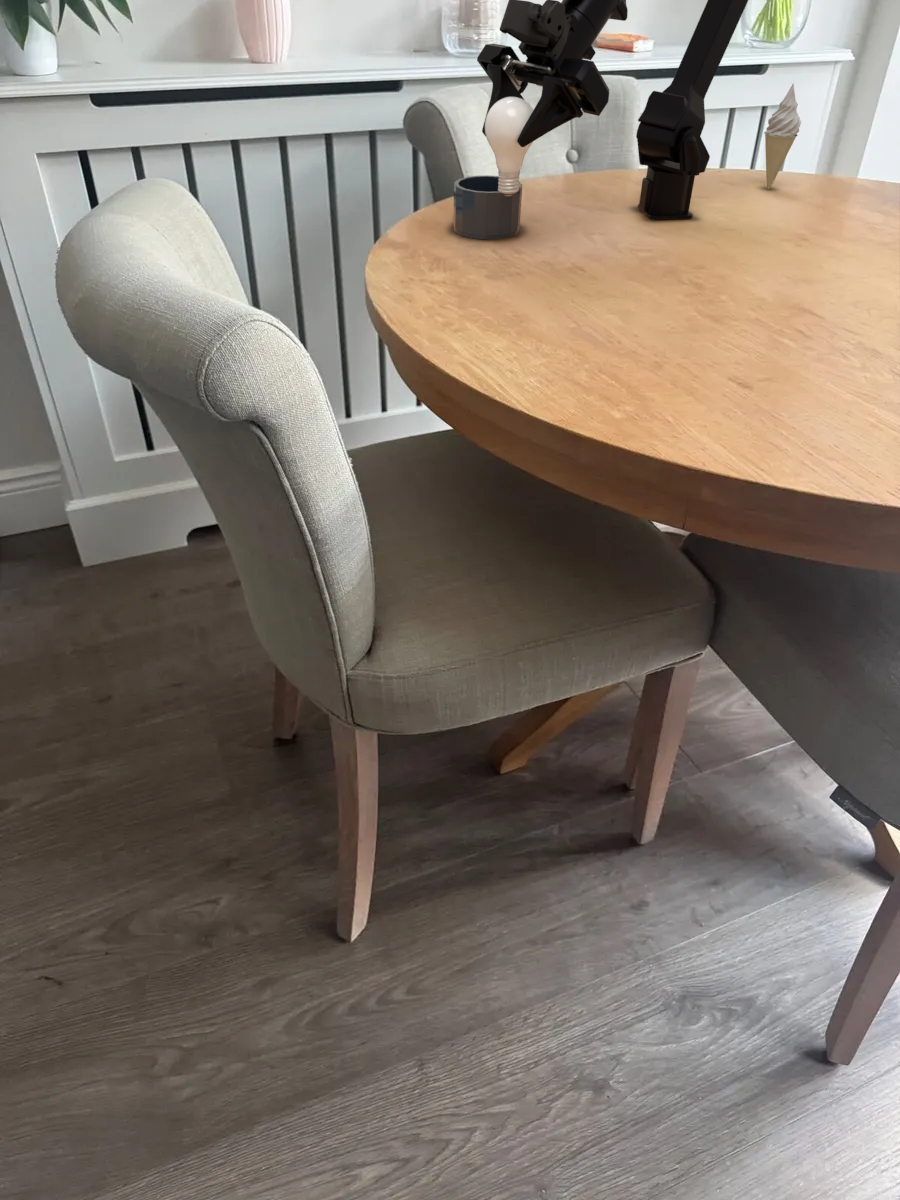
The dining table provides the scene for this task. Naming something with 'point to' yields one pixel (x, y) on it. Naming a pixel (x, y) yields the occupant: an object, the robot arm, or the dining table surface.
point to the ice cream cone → (781, 135)
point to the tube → (485, 209)
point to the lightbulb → (507, 140)
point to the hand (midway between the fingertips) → (501, 139)
